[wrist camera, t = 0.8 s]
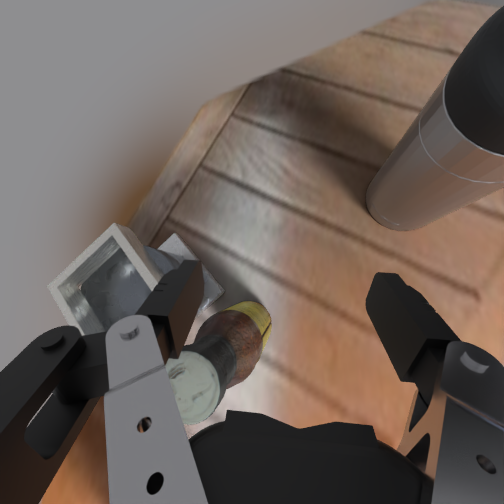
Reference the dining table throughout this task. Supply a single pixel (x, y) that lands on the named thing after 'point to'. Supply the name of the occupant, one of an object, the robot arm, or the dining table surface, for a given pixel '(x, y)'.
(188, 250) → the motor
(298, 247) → the dining table surface
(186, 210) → the dining table surface
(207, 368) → the sauce bottle
